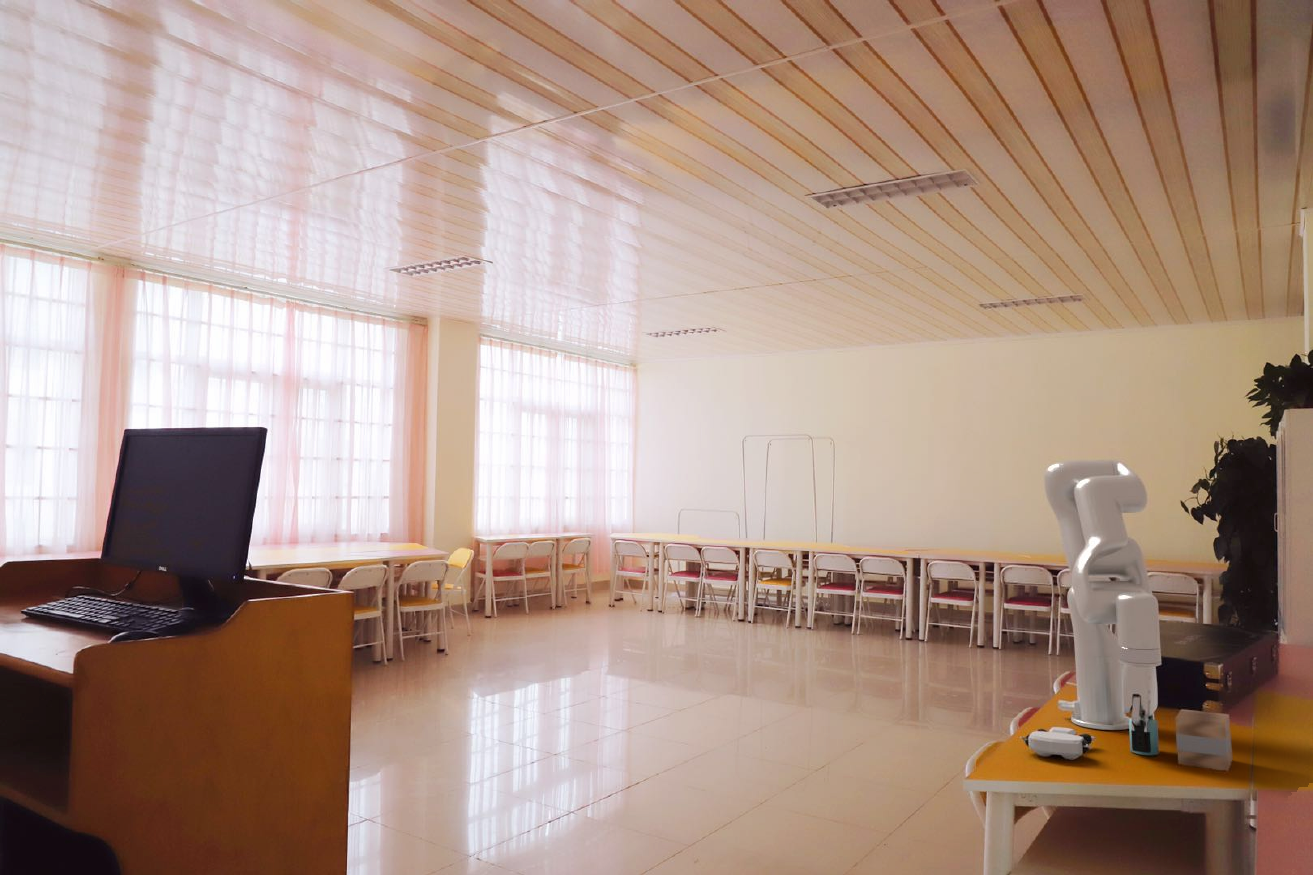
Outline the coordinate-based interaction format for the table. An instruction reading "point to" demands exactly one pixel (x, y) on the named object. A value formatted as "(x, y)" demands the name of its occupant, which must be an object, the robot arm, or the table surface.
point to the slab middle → (1203, 744)
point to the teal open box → (1153, 737)
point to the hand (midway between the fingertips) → (1144, 746)
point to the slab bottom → (1205, 760)
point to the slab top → (1202, 724)
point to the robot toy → (1059, 742)
